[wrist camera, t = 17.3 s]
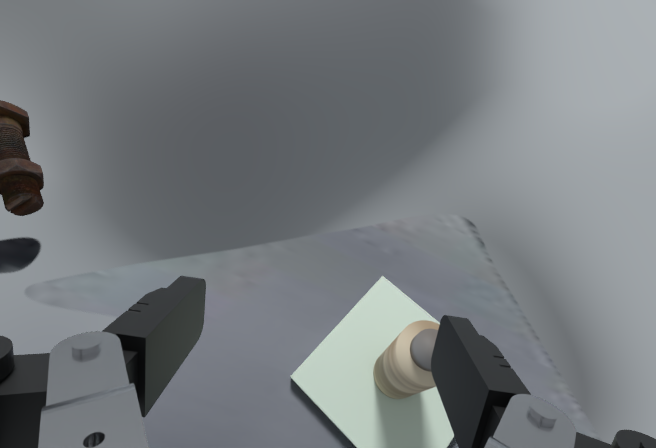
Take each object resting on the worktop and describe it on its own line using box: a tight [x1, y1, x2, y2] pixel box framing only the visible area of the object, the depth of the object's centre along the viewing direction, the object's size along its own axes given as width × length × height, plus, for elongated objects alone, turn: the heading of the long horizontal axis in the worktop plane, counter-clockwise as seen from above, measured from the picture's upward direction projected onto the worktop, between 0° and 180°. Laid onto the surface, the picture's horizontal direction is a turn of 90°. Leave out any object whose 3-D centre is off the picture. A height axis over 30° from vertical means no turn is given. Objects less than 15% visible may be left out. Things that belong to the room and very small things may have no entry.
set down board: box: [290, 276, 454, 448], centre depth 32 cm, size 13×13×1 cm
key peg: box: [373, 320, 440, 399], centre depth 26 cm, size 4×4×11 cm
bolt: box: [0, 100, 44, 216], centre depth 40 cm, size 6×5×15 cm
